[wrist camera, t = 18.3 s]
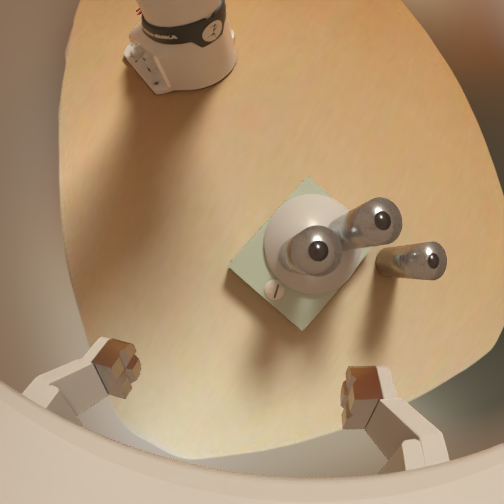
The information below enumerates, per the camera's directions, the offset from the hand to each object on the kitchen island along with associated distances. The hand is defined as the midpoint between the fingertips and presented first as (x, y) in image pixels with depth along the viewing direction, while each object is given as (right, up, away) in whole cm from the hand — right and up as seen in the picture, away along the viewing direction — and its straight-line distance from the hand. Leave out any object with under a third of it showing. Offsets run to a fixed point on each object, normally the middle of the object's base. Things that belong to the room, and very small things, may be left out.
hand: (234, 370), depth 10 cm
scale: (+8, +4, +30) cm, 31 cm away
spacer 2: (+12, +7, +27) cm, 30 cm away
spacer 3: (+21, +3, +30) cm, 37 cm away
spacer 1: (+6, +4, +27) cm, 28 cm away
